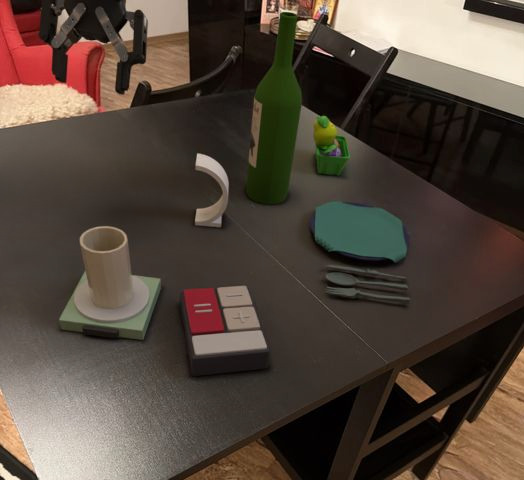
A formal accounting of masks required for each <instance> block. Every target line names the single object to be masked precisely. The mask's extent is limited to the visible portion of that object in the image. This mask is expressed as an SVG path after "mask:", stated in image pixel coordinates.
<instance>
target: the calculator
mask: <svg viewBox="0 0 524 480" xmlns="http://www.w3.org/2000/svg"><path fill="white" fill-rule="evenodd" d="M179 305H180V306H179V307H180V312H181V318H182V324H183V329H184V334H185V335H184V336H185V340H186V346H187V352H188V359H189V363H190V364H189V365H190V371H191V375H192V376H193V377H200V376H209V375H218V374H227V373H228V374H229V373H236V372H238V373H239V372H246V371H255V370H265V369H268V368H269V361H270V355H271V348H270V345H269V342H268V339H267V336H266V334H265V330H264V328H263V325H262V321H261V319H260V317H259V312H258V310H257V308H256V305H255V302H254V298H253V295H252V293H251V290H250V288H249V287H248V286H246V285H236V286H234V285H233V286H223V287H217V288H213V287H205V288H204V287H203V288H190V289H188V288H187V289H183V290H181V291H180V292H179Z"/></svg>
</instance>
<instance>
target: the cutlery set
mask: <svg viewBox="0 0 524 480" xmlns="http://www.w3.org/2000/svg"><path fill="white" fill-rule="evenodd" d="M309 225H310V230H311V233H312V234H313V236H314V240H315V242H316V244H317V245H320V246H321V247H322V248H324V250H325V251H326V250H327V252H328V253H330V252H335V253H337V254H340V255H341V256H344V257H347V258H350V259H351V258H352V259H355V260H360V261H369V262H370V261H371V262H380V261H387V260H391V261H393V263H394V264H396V263H398V262H400V261H402V260H403V259H404V258H405V257H406V255H407V253H408V247H409V246H410V238H411V236H410V234H409V231H408V229H407V227H406V226H405V225H404V224H403V222H402V220H401V219H400V218H399V217H397V216H396V215H394V214H392V213H390V212H389V211H388V210H385V209H384V208H381V207H375V206H373V205H368V204H363V203H360V202H349V201H338V200H331V201H329V202H326V203H323V204H321V205H318V206H316V207H315V211H314V212H313V213H312V214H311V217H310V220H309ZM325 268H326V269H329V270H337V271H343V272H329V273H325V279H327V280H328V281H330V282H331V283H333V284H335V285H338V286H342V287H330V286H325V293H326V294H329V295H334V296H340V297H344V298H348V299H357V298H360V297H364V298H368V299H373V300H377V301H383V302H384V301H385V302H391V303H393V302H394V303H401V304H406V305H409V304H410V302H411V298H410V297H404V296H397V295H396V296H395V295H391V296H390V295H382V294H374V293H370V292H366V291H365V292H364V291H361V289H356V288H355V287H352V286H354V285H366V286H374V287H375V286H376V287H384V288H391V289H397V290H401V291H406V292H407V291H408V289H409V287H408V284H401V283H400V284H399V283H392V282H382V281H368V280H367V281H366V280H365V281H364V280H363V281H361V280H359V279H358V278H357V277H355V276H353V275H351V274H348V273H344V272H350V273H357V274H363V275H365V276H366V277H368V276H371V277H378V276H382V277H387V278H395V279H399V280H403V281H404V282H405V281H406V275H403V276H402V275H393V274H389V273H386V272H385V273H384V272H379V271H378V270H375V269H372V270H370V269H369V268H367V269H366V270H365V269H362V268H361V269H360V268H356V267H350V266H346V265H345V266H344V265H338V264H326V265H325ZM350 286H351V287H352V288H346V287H350Z"/></svg>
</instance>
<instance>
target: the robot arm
mask: <svg viewBox="0 0 524 480" xmlns="http://www.w3.org/2000/svg"><path fill="white" fill-rule="evenodd" d="M126 4H127V0H41V9H40V19H39V28H38V38H39V39H40V41H42V42H43V43H45V44H47V46H49V47H51V49H52V53H51V54H52V55H51V72H52V75H53V76H54V78H55V80H56V81H57V82H59V83H62V84H66V83H67V79H68V78H67V77H68V63H69V55H68V54H67V53H68V51H69V50H70V49H72V47H73V46H74V45H75V44H77V43H79V42H80V40H81V39H82V38H83V39H84V40H85V41H90V42H94V41H98V42H99V43H102V44H106V45H108V43H110V44H111V45H112V46H113V48H114V50H115V52H116V54H117V56H118V58H119V61H117V63H116V73H115V85H114V90H115V92H116V93H117V94H118V95H122V96H124V95H125V93H126V92H128V91H129V89H130V83H131V73H132V67H133V66H135V65H145V64H146V62H147V47H148V27H149V21H148V18H147V16H146V15H145V13H144V12H143V11H142V10H141V9H136V10H135V11H131V10H127V8H126V7H127V6H126ZM64 10H65V12H66V14H67V16H68V17H67V18H66V20H65V21H64V22H62V24H61V25H60V26H59V30H58V22H59V17H60V16H62V14H63V11H64ZM128 22H129V27H130V28H131V30H132V31H133V35H132V37H133V38H132V51H129V50H128V49H127V45H126V44H125V41H124V40H123V39H124V38H122V35H121V33H120V32H121V30H123V28H124V27H125V26H126V25H127V23H128ZM57 31H58V32H57Z"/></svg>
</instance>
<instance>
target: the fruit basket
mask: <svg viewBox="0 0 524 480" xmlns="http://www.w3.org/2000/svg"><path fill="white" fill-rule="evenodd" d="M338 133H339V132H338V129H337V127H336V126H335V124H334V123H332V122H331V121H330V119H329V117H327V116H326V115H321V116H320V115H318V116H317V117H316V120H314V122H313V133H312V134H313V136H312V137H313V140H314V143H315V158H316V168H317V174H324V175H330V176H340V175H341V174H342V172H343V169H344V167H346V163H347V162H348V161H349V159H350V158H351V155H350V151H349V146H348V141H347V137H346V136H343V135H338Z"/></svg>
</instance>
